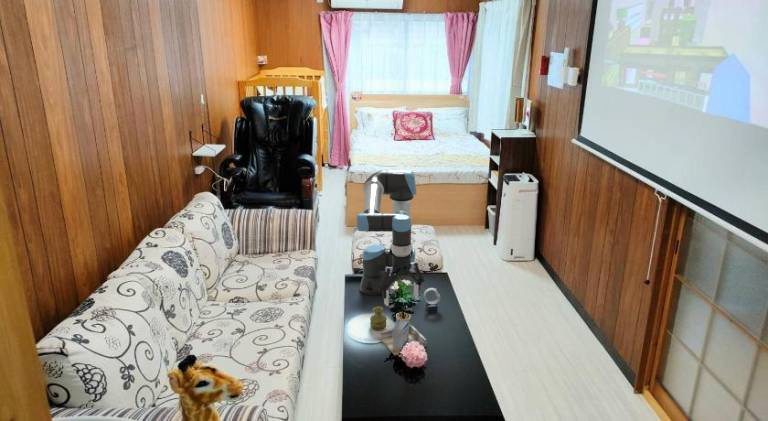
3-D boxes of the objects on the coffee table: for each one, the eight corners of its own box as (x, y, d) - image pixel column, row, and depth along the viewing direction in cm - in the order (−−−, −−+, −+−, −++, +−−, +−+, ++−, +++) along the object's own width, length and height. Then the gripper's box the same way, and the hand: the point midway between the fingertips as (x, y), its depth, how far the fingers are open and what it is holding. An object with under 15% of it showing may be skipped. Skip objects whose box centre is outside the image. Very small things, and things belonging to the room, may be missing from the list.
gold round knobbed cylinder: (366, 327, 237) (366, 307, 234) (377, 321, 242) (377, 301, 239) (378, 332, 232) (378, 312, 229) (389, 326, 237) (389, 306, 234)
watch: (441, 311, 250) (442, 290, 247) (424, 312, 249) (425, 291, 246) (438, 306, 255) (439, 285, 252) (422, 307, 254) (422, 286, 251)
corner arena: (380, 339, 227) (380, 332, 226) (411, 331, 233) (411, 324, 232) (394, 355, 215) (394, 348, 214) (426, 347, 221) (426, 339, 220)
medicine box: (402, 349, 218) (402, 330, 215) (392, 346, 219) (392, 328, 217) (408, 339, 225) (409, 321, 222) (399, 337, 226) (399, 319, 224)
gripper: (376, 262, 202) (377, 311, 208) (433, 251, 212) (432, 299, 218) (369, 255, 208) (369, 303, 214) (424, 245, 218) (423, 291, 224)
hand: (401, 301), depth 216 cm, fingers open, 13 cm apart
